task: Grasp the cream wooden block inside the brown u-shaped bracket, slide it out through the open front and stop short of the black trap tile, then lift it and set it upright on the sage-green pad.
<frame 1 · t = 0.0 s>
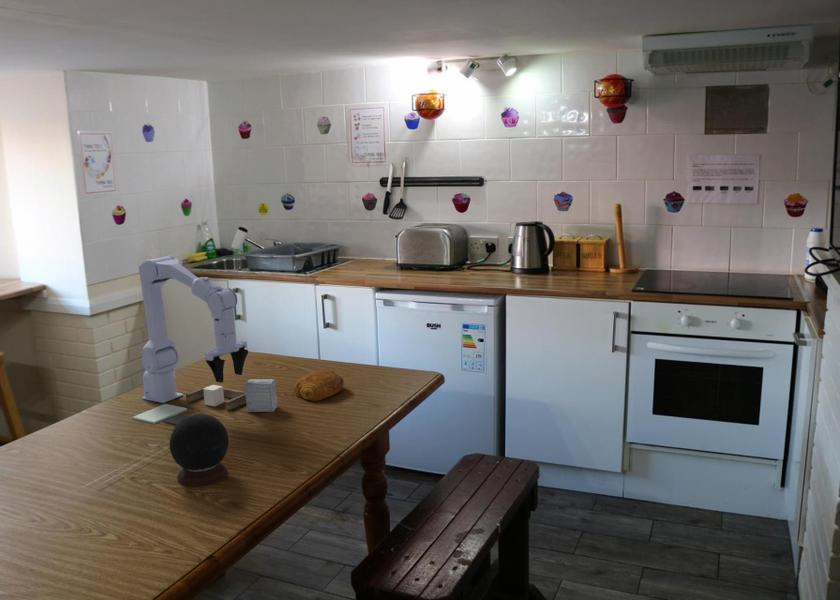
hand: (229, 378, 216), 10 cm above the table, fingers open, 7 cm apart
trap tile: (179, 420, 212), on the table
black smart speaker: (202, 477, 176), on the table
medicine box: (262, 410, 219), on the table
cream block: (214, 403, 226), on the table
pad: (160, 414, 217), on the table
brown u-shaped bracket: (218, 401, 227), on the table
croissant: (318, 394, 232), on the table
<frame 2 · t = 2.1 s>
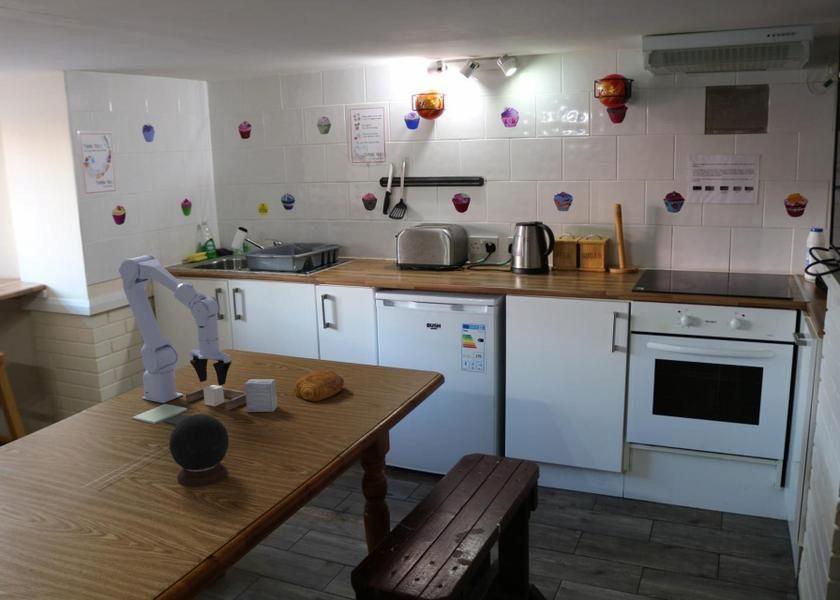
hand: (212, 382, 224), 6 cm above the table, fingers open, 7 cm apart
nothing on the table moved.
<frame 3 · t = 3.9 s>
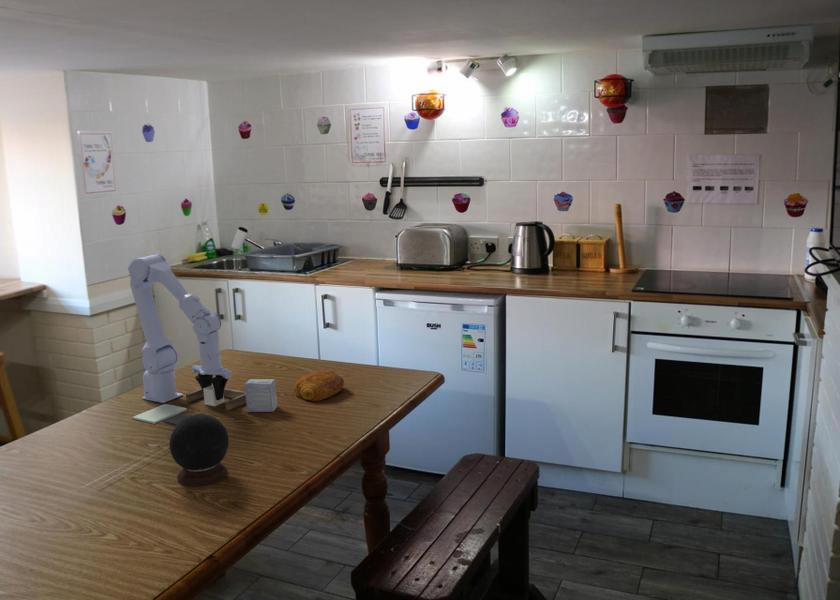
hand: (214, 398, 225), 2 cm above the table, fingers closed on cream block, 4 cm apart
cream block: (214, 403, 225), on the table, touching gripper
everything else where it was.
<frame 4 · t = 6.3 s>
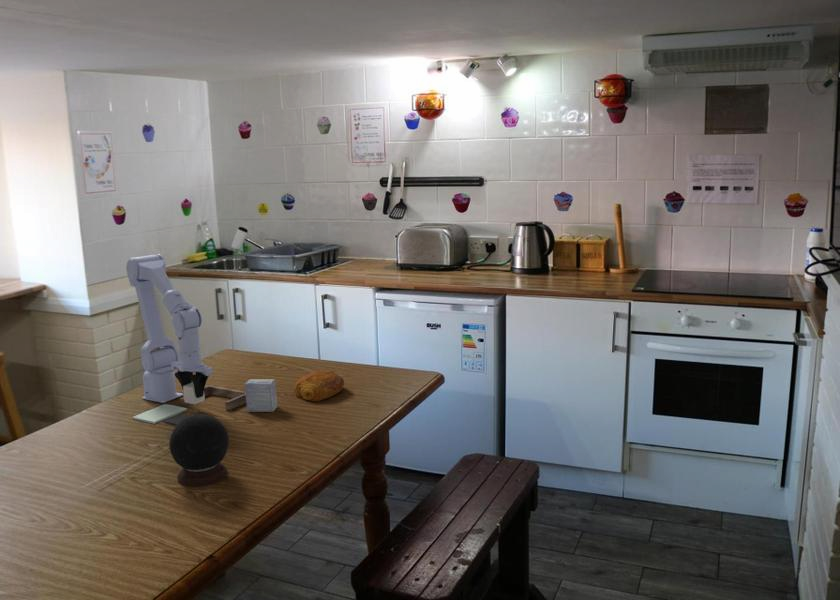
hand: (194, 395, 218), 5 cm above the table, fingers closed on cream block, 4 cm apart
cream block: (194, 401, 219), point 3 cm above the table, touching gripper
everything else where it was.
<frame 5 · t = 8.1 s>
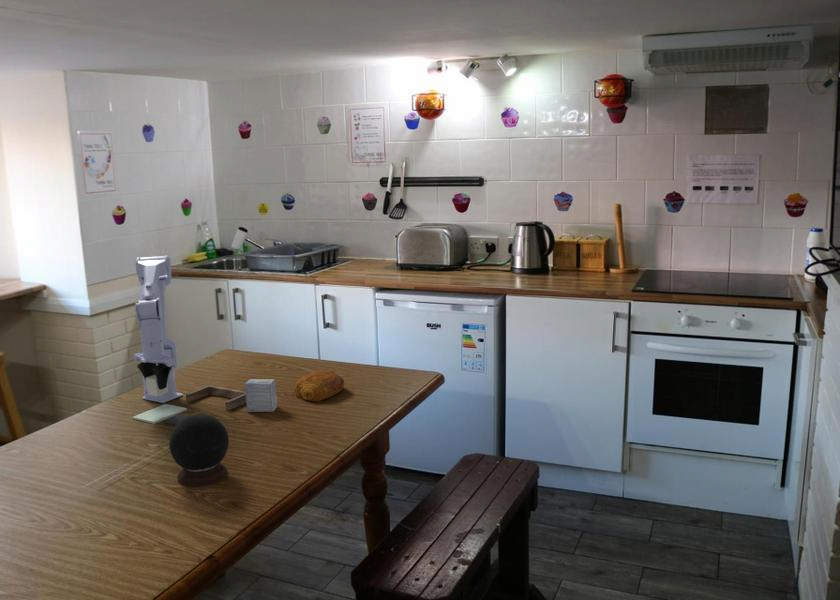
hand: (157, 387, 216), 8 cm above the table, fingers closed on cream block, 4 cm apart
cream block: (158, 393, 216), point 6 cm above the table, touching gripper
everything else where it was.
when the fingers open (4 cm above the table, at t = 9.2 s): cream block drops 1 cm, resting on pad.
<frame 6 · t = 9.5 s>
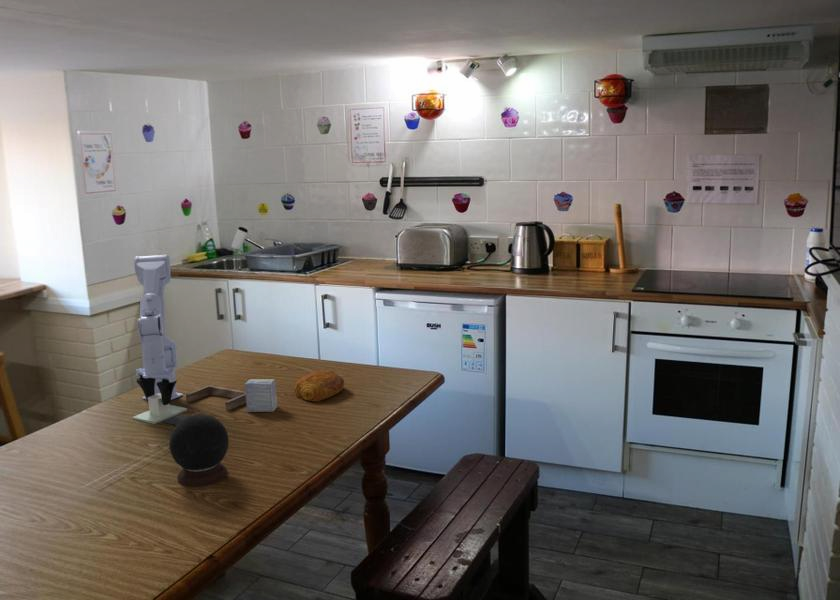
hand: (158, 402, 217), 4 cm above the table, fingers open, 6 cm apart
cream block: (160, 412, 217), point 1 cm above the table, touching pad
everything else where it was.
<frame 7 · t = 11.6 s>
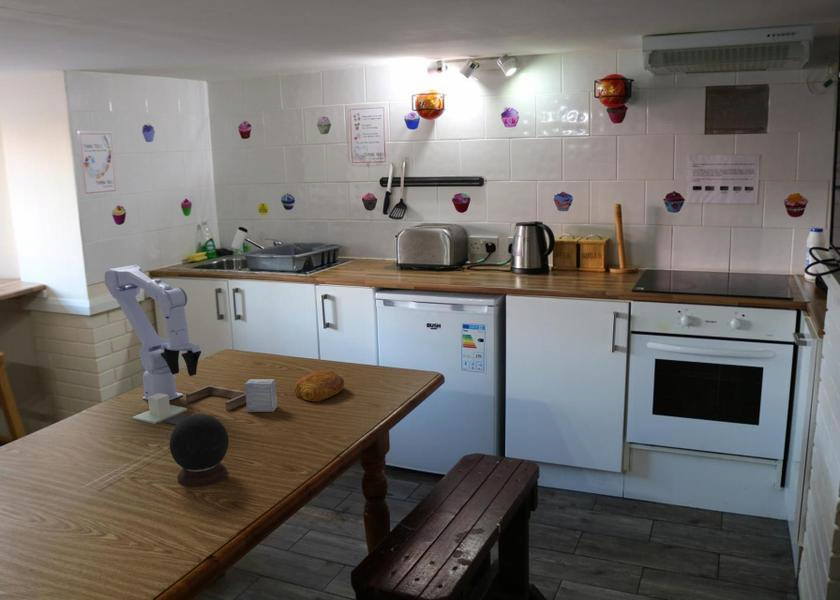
hand: (184, 374, 223), 9 cm above the table, fingers open, 7 cm apart
nothing on the table moved.
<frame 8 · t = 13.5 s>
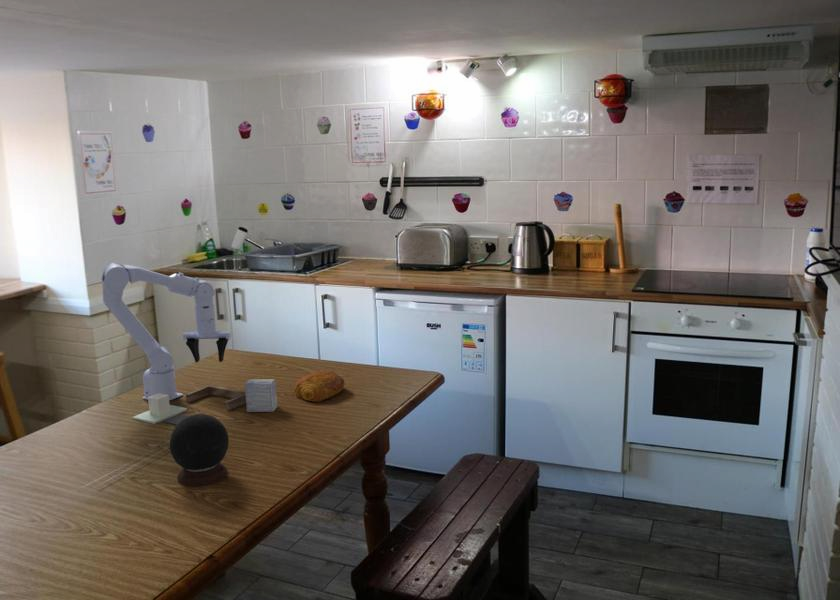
hand: (209, 361, 236), 9 cm above the table, fingers open, 7 cm apart
nothing on the table moved.
at the end: cream block inside the target area on the pad (0.0 cm from its centre), point 0.6 cm above the pad's base; cream block tilted 0°; the gripper is holding nothing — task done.
